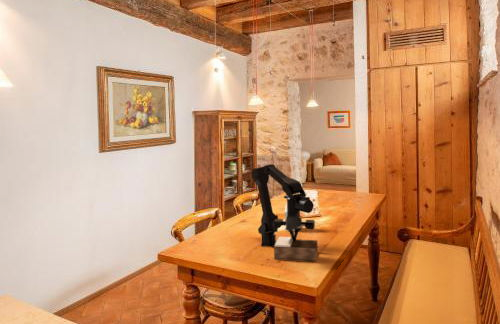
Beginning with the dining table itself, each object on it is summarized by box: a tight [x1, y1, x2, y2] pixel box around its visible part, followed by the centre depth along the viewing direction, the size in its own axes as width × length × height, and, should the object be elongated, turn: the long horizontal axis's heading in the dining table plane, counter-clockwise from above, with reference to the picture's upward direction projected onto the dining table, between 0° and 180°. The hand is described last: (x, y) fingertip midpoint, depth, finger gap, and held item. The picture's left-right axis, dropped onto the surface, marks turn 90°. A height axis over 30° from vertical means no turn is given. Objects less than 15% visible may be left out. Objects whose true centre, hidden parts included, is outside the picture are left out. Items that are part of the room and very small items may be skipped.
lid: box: [274, 236, 293, 247], centre depth 173 cm, size 7×12×2 cm, turn 165°
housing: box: [273, 238, 319, 263], centre depth 172 cm, size 18×12×6 cm, turn 75°
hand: (294, 241), depth 171 cm, fingers closed
